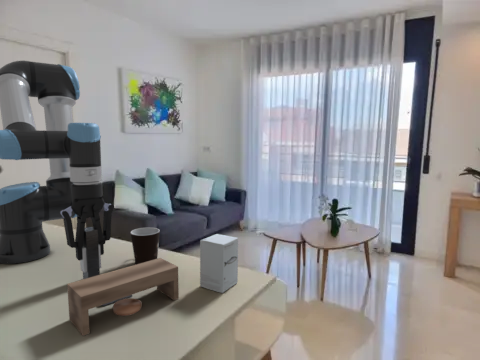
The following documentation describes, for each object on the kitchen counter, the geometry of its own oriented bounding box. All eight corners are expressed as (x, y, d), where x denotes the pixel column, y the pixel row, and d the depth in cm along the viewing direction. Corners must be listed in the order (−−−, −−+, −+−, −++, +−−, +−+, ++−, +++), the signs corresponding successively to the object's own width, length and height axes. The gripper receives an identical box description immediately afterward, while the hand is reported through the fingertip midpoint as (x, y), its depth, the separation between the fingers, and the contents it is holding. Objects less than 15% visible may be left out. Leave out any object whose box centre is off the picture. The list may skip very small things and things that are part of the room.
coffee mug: (152, 269, 97) (151, 236, 96) (126, 266, 99) (124, 234, 98) (169, 255, 109) (168, 225, 108) (144, 253, 110) (143, 224, 109)
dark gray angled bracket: (75, 280, 89) (72, 230, 88) (101, 273, 94) (99, 225, 92) (103, 306, 76) (100, 246, 74) (132, 296, 81) (130, 240, 79)
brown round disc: (107, 312, 74) (107, 306, 74) (126, 301, 79) (126, 296, 79) (128, 318, 71) (128, 313, 71) (146, 306, 77) (147, 301, 77)
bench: (69, 319, 70) (67, 283, 69) (161, 287, 86) (160, 257, 85) (83, 336, 65) (81, 297, 64) (178, 298, 80) (178, 266, 79)
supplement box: (222, 294, 83) (222, 244, 81) (199, 286, 86) (199, 239, 85) (238, 283, 89) (239, 237, 87) (216, 276, 93) (216, 232, 91)
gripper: (57, 187, 79) (63, 281, 82) (122, 181, 90) (125, 264, 93) (48, 183, 84) (53, 272, 87) (110, 178, 95) (114, 257, 98)
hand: (90, 268), depth 90 cm, fingers closed on dark gray angled bracket, 3 cm apart
